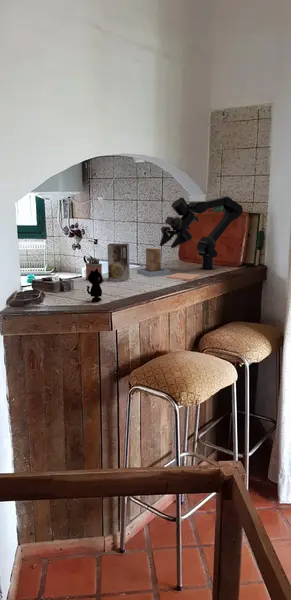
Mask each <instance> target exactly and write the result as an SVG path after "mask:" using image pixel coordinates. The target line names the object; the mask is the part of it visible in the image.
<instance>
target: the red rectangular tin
mask: <svg viewBox="0 0 291 600" xmlns="http://www.w3.org/2000/svg"><path fill="white" fill-rule="evenodd" d="M86 261H87V262H85V263H84V264H85V280H86V281H89V280H88V276H89V274H90V273H91V271H93V272H94V271H95V270H96V269H97V268H98V272H99V273H100V274H101V275H102V276H103V272H102V271H103V270H102V268H103V267H102V266H103V264H102V263H100V258H96V257H93V258H92V257H87V258H86Z"/></svg>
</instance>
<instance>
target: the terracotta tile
mask: <svg viewBox="0 0 291 600" xmlns="http://www.w3.org/2000/svg"><path fill="white" fill-rule="evenodd" d="M201 277H202V274H193V273H186V272H176V273H174V274H170V275H167V276H166V279H172V280H173V279H174V280H180V281H184V282H193V281H195V280H197V279H199V278H201Z"/></svg>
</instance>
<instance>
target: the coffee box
mask: <svg viewBox="0 0 291 600" xmlns="http://www.w3.org/2000/svg"><path fill="white" fill-rule="evenodd" d="M107 270H108V271H107V274H108V275H107V277H108V280H107V281H109V282H125V281H129V279H130V278H131V276H130V275H131V274H130V271H131V270H130V244H129V243H108V244H107Z"/></svg>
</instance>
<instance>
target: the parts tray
mask: <svg viewBox="0 0 291 600" xmlns="http://www.w3.org/2000/svg"><path fill="white" fill-rule="evenodd" d="M136 274H137V275H142V276H145V277H146V276H147V277H149V278H152V277H158V276H159V277H160V276H170V275H171V270H170V269H166V268H162V267H161V271H156V272H148V271H146V267H142V268H137V269H136Z"/></svg>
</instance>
